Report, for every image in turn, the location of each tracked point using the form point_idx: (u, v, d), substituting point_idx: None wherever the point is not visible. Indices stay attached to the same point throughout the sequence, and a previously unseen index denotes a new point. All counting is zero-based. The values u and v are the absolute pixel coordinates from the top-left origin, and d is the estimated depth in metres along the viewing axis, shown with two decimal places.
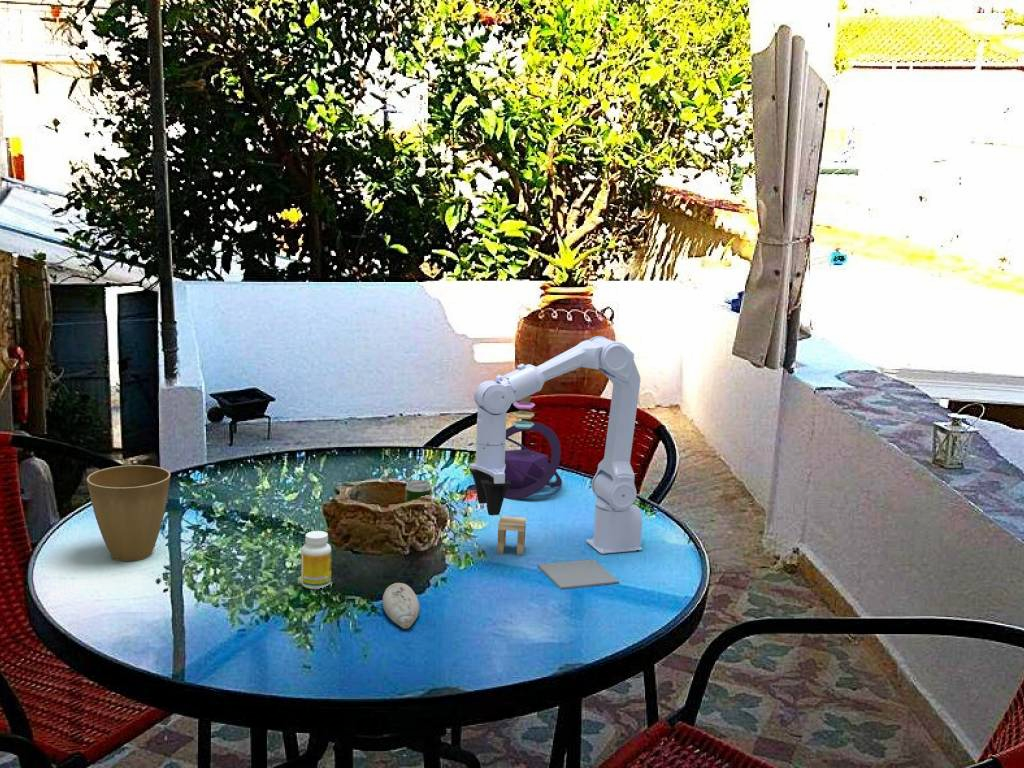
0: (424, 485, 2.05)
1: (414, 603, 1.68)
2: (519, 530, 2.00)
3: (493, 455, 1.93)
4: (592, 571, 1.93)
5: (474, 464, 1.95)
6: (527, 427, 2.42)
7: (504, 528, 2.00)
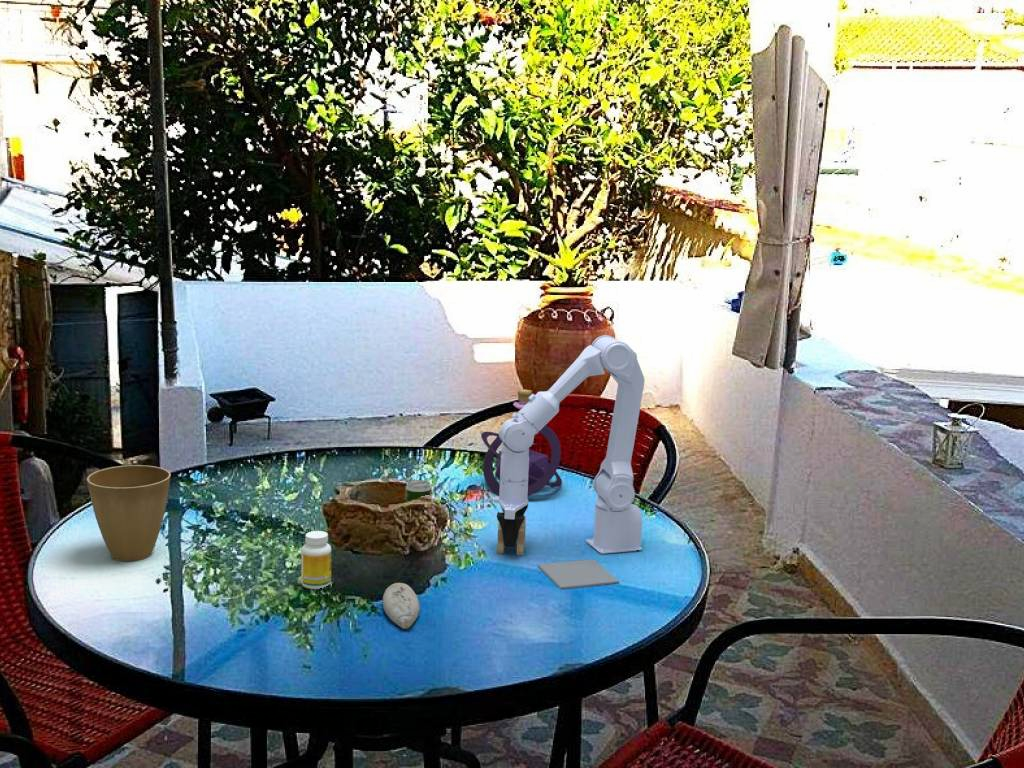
0: (424, 485, 2.05)
1: (414, 603, 1.68)
2: (519, 530, 2.00)
3: (511, 491, 1.99)
4: (592, 571, 1.93)
5: (497, 498, 2.02)
6: None
7: None
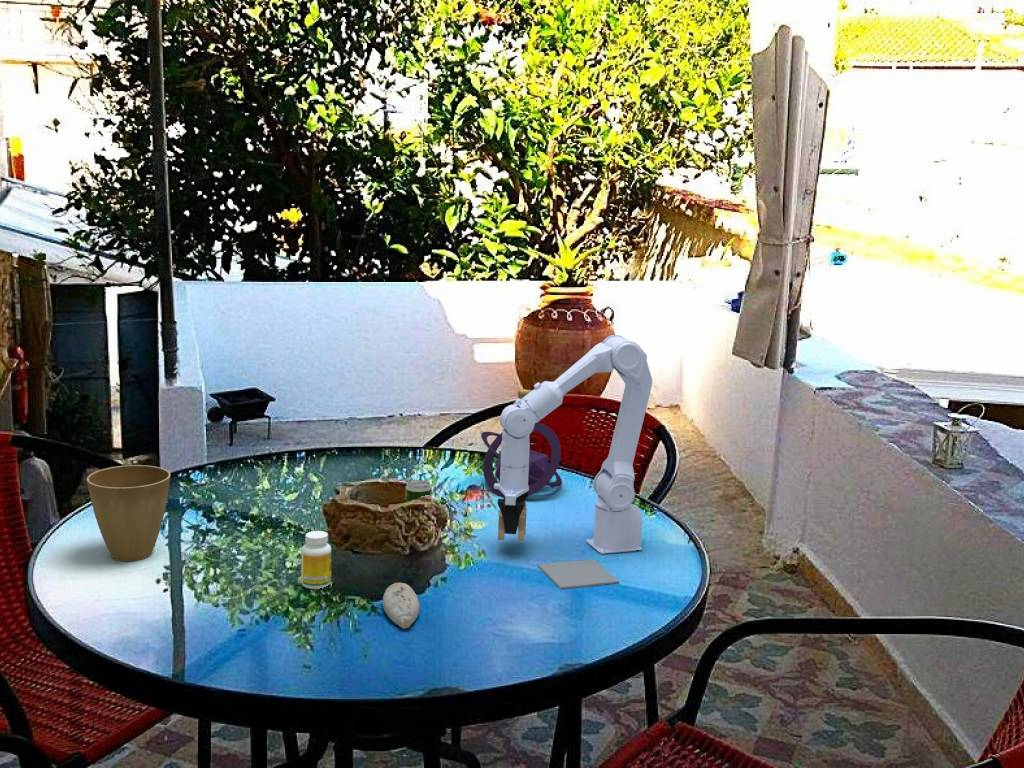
0: (424, 485, 2.05)
1: (414, 603, 1.68)
2: (520, 516, 2.00)
3: (511, 477, 1.98)
4: (592, 571, 1.93)
5: (498, 484, 2.02)
6: None
7: None
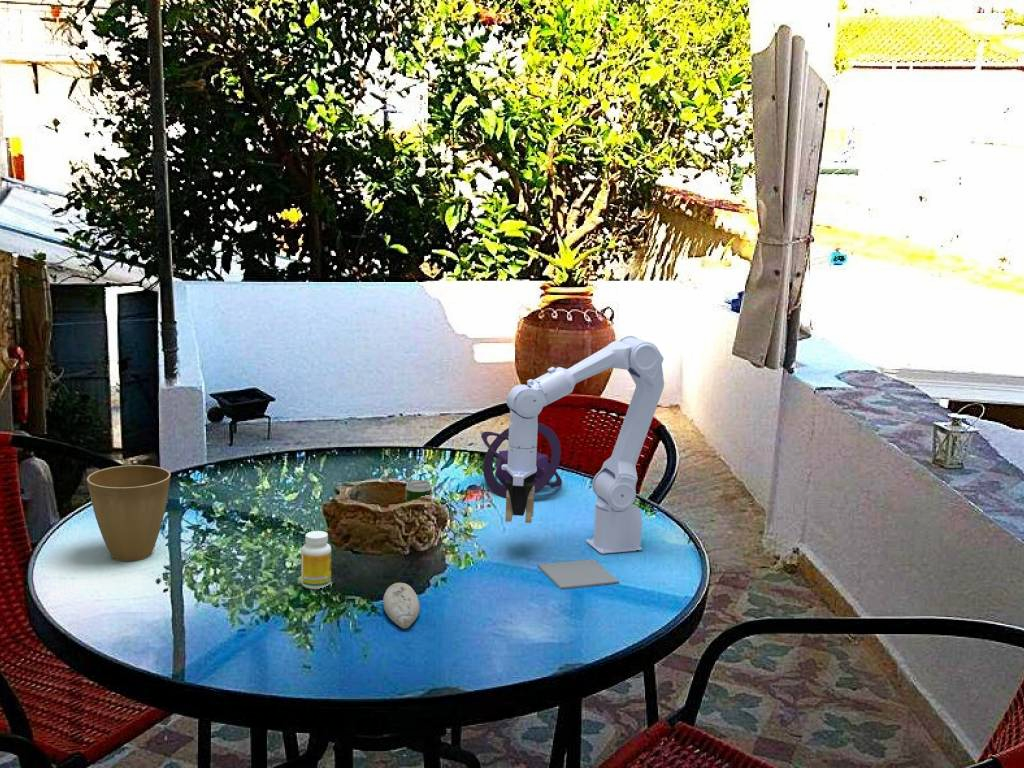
0: (424, 485, 2.05)
1: (414, 603, 1.68)
2: (528, 498, 1.97)
3: (519, 458, 1.96)
4: (592, 571, 1.93)
5: (506, 465, 2.00)
6: None
7: None
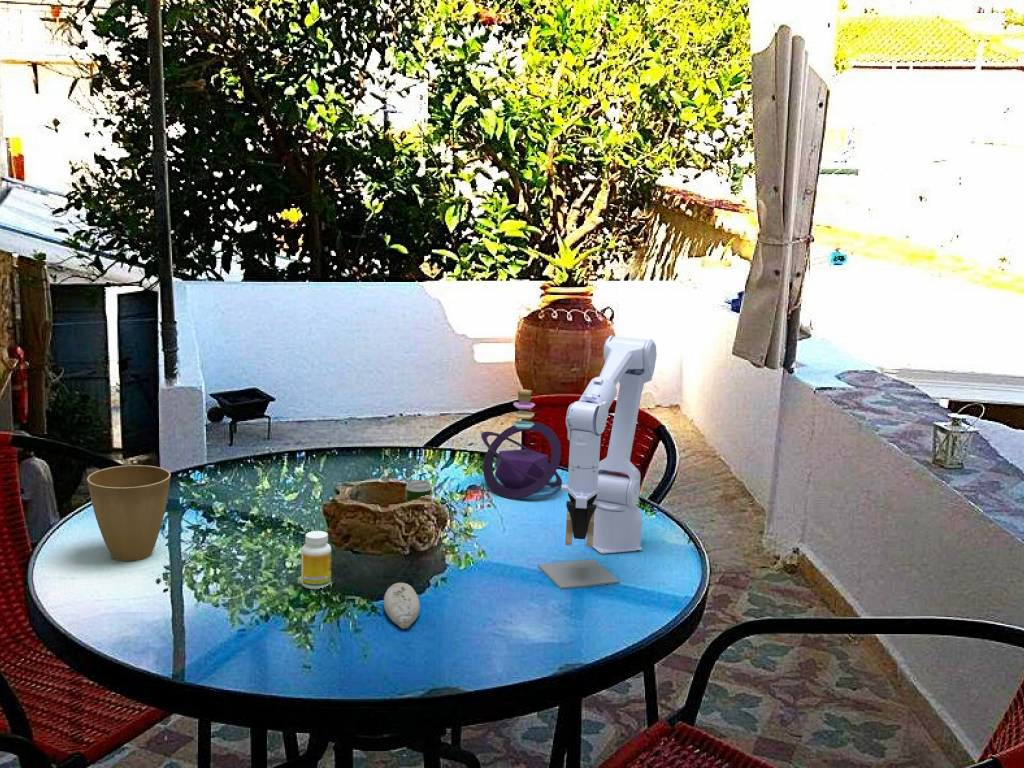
0: (424, 485, 2.05)
1: (414, 603, 1.68)
2: None
3: (581, 478, 1.85)
4: (592, 571, 1.93)
5: (565, 485, 1.89)
6: (527, 427, 2.42)
7: None
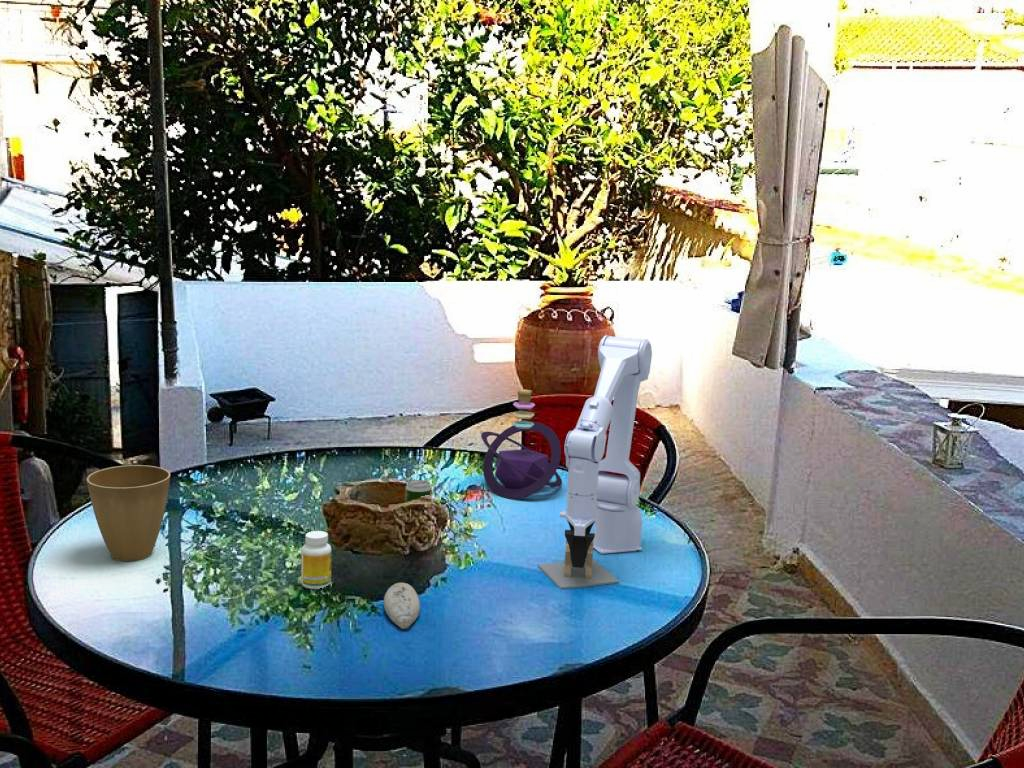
0: (424, 485, 2.05)
1: (414, 603, 1.68)
2: (588, 552, 1.88)
3: (580, 506, 1.86)
4: (592, 571, 1.93)
5: (564, 512, 1.90)
6: (527, 427, 2.42)
7: None
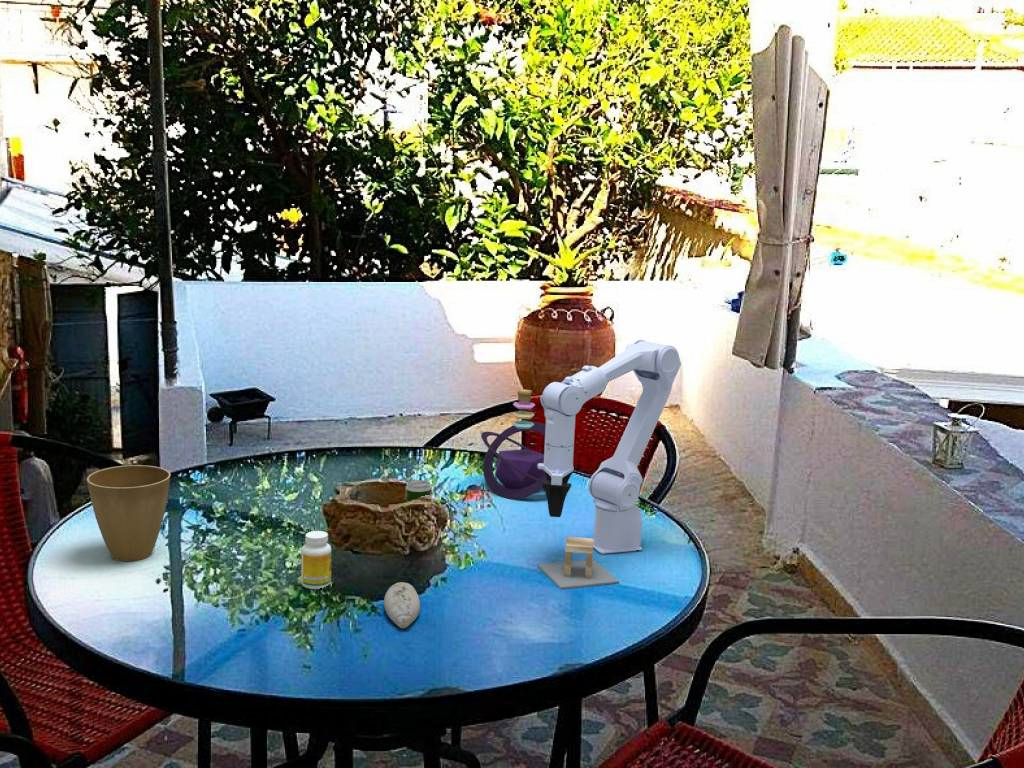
0: (424, 485, 2.05)
1: (414, 603, 1.68)
2: (588, 552, 1.88)
3: (557, 457, 1.92)
4: (592, 571, 1.93)
5: (542, 464, 1.96)
6: (527, 427, 2.42)
7: (572, 550, 1.88)
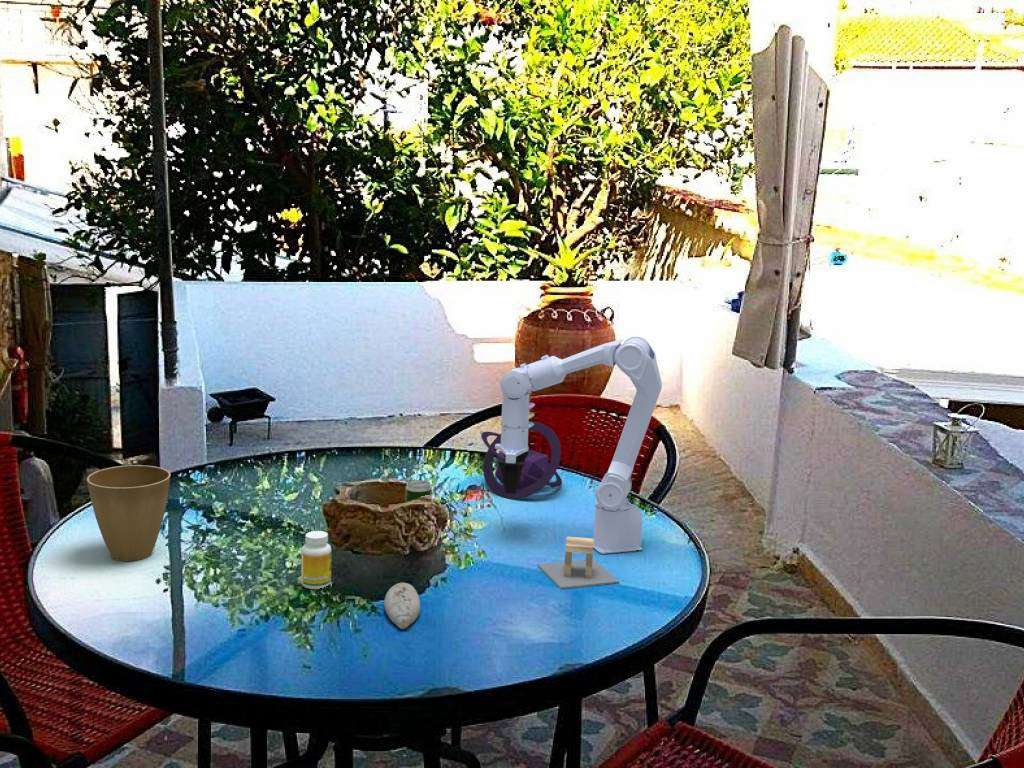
0: (424, 485, 2.05)
1: (414, 603, 1.68)
2: (588, 552, 1.88)
3: (512, 437, 2.06)
4: (592, 571, 1.93)
5: (499, 444, 2.10)
6: None
7: (572, 550, 1.88)
